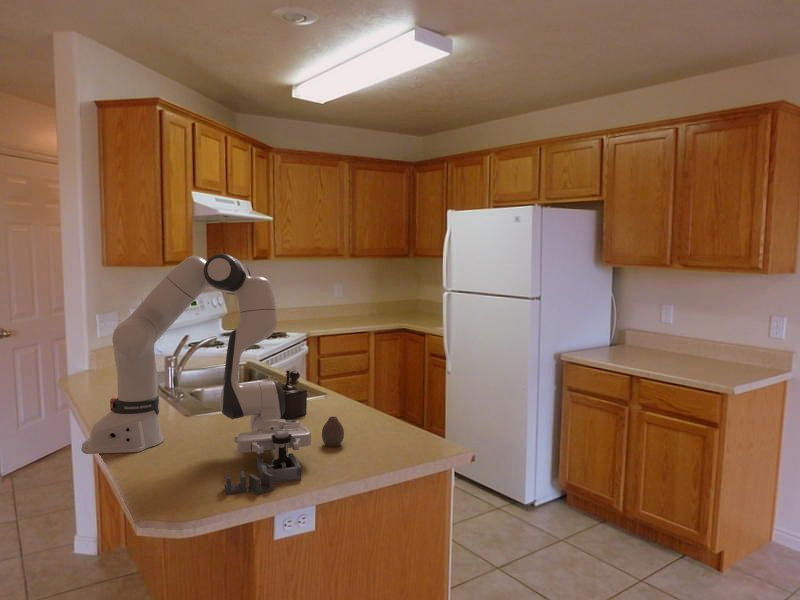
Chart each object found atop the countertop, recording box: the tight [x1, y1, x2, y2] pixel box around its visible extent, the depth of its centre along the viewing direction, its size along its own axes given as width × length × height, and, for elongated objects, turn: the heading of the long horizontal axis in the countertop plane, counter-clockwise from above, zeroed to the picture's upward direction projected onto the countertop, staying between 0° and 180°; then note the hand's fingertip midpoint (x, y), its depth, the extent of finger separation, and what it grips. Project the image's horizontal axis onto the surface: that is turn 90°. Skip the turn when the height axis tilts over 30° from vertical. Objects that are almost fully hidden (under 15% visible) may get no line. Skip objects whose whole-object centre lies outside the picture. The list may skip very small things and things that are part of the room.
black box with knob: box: [280, 369, 308, 420], centre depth 209 cm, size 16×11×18 cm
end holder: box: [256, 453, 302, 484], centre depth 155 cm, size 10×12×3 cm
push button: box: [268, 430, 292, 470], centre depth 156 cm, size 7×5×10 cm
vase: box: [321, 416, 345, 448], centre depth 179 cm, size 7×7×9 cm
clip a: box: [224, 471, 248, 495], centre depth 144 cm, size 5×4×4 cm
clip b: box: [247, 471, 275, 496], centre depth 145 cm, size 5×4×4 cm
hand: (278, 449), depth 154 cm, fingers open, 8 cm apart
